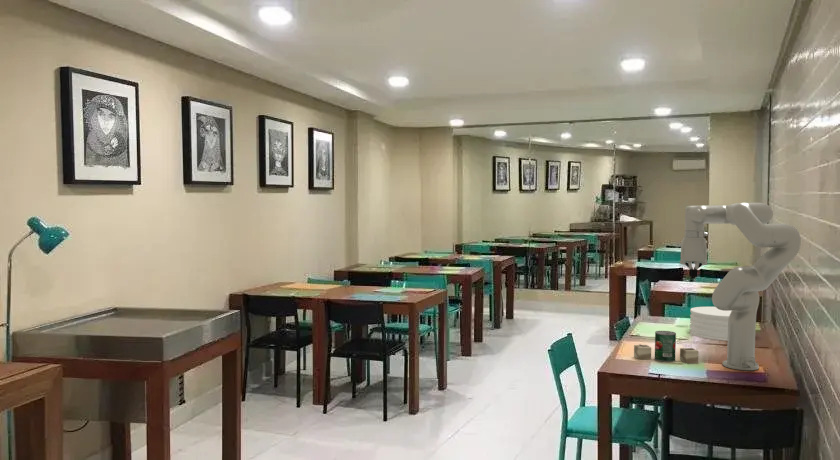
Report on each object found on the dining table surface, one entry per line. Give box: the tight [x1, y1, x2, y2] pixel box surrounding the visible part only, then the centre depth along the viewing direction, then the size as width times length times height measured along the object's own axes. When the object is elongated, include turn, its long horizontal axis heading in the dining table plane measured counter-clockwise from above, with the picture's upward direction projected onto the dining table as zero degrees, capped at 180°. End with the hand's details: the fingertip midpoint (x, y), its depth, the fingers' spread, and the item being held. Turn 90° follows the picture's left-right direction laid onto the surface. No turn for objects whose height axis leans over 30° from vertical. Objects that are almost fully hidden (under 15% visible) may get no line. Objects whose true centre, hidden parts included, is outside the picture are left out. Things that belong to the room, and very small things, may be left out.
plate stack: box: [689, 306, 732, 342], centre depth 313 cm, size 28×28×12 cm
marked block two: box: [633, 344, 652, 361], centre depth 264 cm, size 5×5×5 cm
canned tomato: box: [654, 330, 677, 363], centre depth 262 cm, size 8×8×11 cm
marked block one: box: [679, 347, 700, 364], centre depth 259 cm, size 5×5×5 cm
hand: (693, 278), depth 276 cm, fingers closed
